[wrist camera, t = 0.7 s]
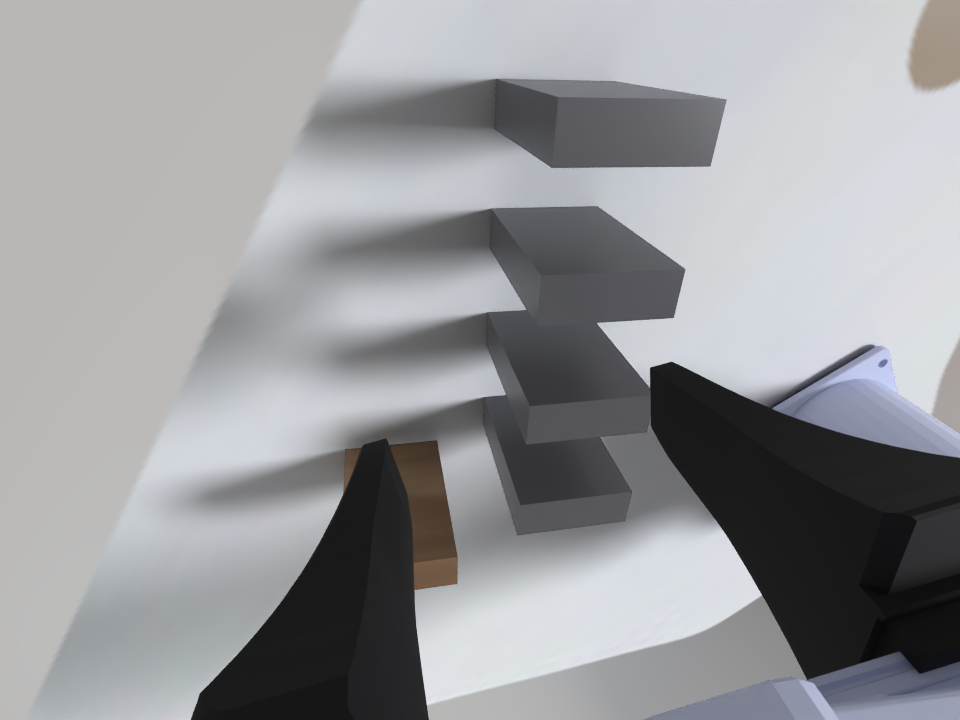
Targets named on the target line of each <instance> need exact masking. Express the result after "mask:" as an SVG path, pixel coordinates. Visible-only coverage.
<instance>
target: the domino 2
mask: <svg viewBox="0 0 960 720" xmlns="http://www.w3.org/2000/svg"><path fill="white" fill-rule="evenodd" d="M725 104H726V99H720V98H714V97H708V96H701V95H695V94H689V93H683V92H677V91H671V90H665V89H659V88H653V87H646V86H640V85H634V84H628V83H622V82H616V81H574V80H526V79H496V102H495V127H494V129H496V130H497V131H499V132H500V133H502V134H503V135H504V136H506V137H507V138H509V139H510V140H512V141H513V142H515V143H516V144H518V145H519V146H521V147H522V148H524V149H525V150H526V151H528V152H529V153H531V154H532V155H534V156H535V157H537V158H538V159H540V160H541V161H543V162H544V163H546V164H547V165H548V166H550V167H551V168H588V167H701V166H711V162H712V158H713V153H714V149H715V145H716V141H717V137H718V133H719V129H720V125H721V120H722V116H723V112H724V108H725Z"/></svg>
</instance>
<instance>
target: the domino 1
mask: <svg viewBox="0 0 960 720" xmlns="http://www.w3.org/2000/svg"><path fill="white" fill-rule="evenodd" d="M389 446H390V449H391V452H392V454H393V457H394V460H395V462H396V465H397V467H398V470H399V473H400V475H401V478H402V481H403V483H404V486H405V489H406V491H407V495H408V501H409V508H410V514H411V521H412V529H413V559H414V590H417V589H424V588H431V587H438V586H445V585H452V584H457V552H456V546H455V540H454V535H453V529H452V523H451V518H450V512H449V507H448V501H447V495H446V490H445V484H444V478H443V473H442V467H441V462H440V456H439V450H438V445H437V441H428V442H418V443H407V444H397V445H389ZM360 450H361V448H356V449H346V453H345V473H344V492H345V489H346V487H347V485H348V482H349V480H350V477H351V475H352V472H353V469H354V467H355V464H356V461H357V459H358V456H359V453H360ZM343 494H344V493H343Z"/></svg>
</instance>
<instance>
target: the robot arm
mask: <svg viewBox="0 0 960 720" xmlns="http://www.w3.org/2000/svg"><path fill="white" fill-rule="evenodd" d="M650 395H651V427H652V429H653V431H654V433H655V434H656V436H657V438H658V440H659V442H660V444H661V445H662V447H663V449H664V450H665V452H666V454H667V456H668V457H669V459H670V460H671V461H672V463H673V464H674V465H675V467H676V468H677V469H678V471H679V472H680V473H681V475H682V476H683V477H684V479H685V480H686V481H687V483H688V484H689V485H690V487H691V488H692V489H693V491H694V492H695V493H696V495H697V496H698V497H699V498H700V500H701V501H702V502H703V504H704V505H705V506H706V508H707V509H708V510H709V512H710V513H711V514H712V516H713V517H714V518H715V519H716V521H717V522H718V524H719V525H720V526H721V528H722V529H723V531H724V532H725V534H726V535H727V537H728V538H729V540H730V542H731V543H732V545H733V546H734V548H735V550H736V551H737V553H738V555H739V556H740V558H741V560H742V561H743V563H744V565H745V566H746V568H747V570H748V571H749V573H750V575H751V576H752V578H753V580H754V582H755V583H756V585H757V587H758V589H759V590H760V592H761V594H762V596H763V597H764V599H765V600H766V602H767V604H768V606H769V608H770V610H771V612H772V613H773V615H774V617H775V619H776V621H777V623H778V624H779V626H780V628H781V630H782V632H783V634H784V636H785V637H786V639H787V641H788V643H789V645H790V647H791V649H792V651H793V653H794V655H795V657H796V658H797V661H798V662H799V665H800V666H801V668H802V670H803V672H804V674H805V676H806V678H807V680H801V679H798V678H794V677H785V678H780V679H774V680H768V681H765V682H761V683H758V684H755V685H752V686H749V687H745V688H742V689H739V690H736V691H732V692H729V693H726V694H723V695H719V696H716V697H713V698H710V699H706V700H703V701H700V702H697V703H693V704H690V705H687V706H684V707H680V708H677V709H674V710H671V711H667V712H664V713H661V714H658V715H654V716H651V717H649V718H647V719H645V720H960V434H959V433H957V432H956V431H954V430H953V429H951V428H949V427H948V426H946V425H945V424H943V423H942V422H940V421H939V420H937V419H936V418H934V417H933V416H931V415H930V414H928V413H927V412H925V411H924V410H922V409H921V408H919V407H918V406H916V405H915V404H913V403H912V402H910V401H909V400H907V399H906V398H904V397H902V396H901V395H899V394H898V390H897V385H896V380H895V375H894V370H893V365H892V360H891V356H890V351H889V350H888V349H887V348H885V347H883V346H877V347H875V348H873V349H871V350H870V351H868V352H866V353H864V354H863V355H861V356H859V357H858V358H856V359H854V360H853V361H851V362H849V363H848V364H846V365H844V366H843V367H841V368H839V369H837V370H836V371H834V372H832V373H831V374H829V375H827V376H826V377H824V378H822V379H821V380H819V381H817V382H815V383H814V384H812V385H810V386H809V387H807V388H805V389H804V390H802V391H800V392H799V393H797V394H795V395H793V396H792V397H790V398H788V399H787V400H785V401H783V402H782V403H780V404H778V405H777V406H775V407H773V408H772V409H771V408H769V407H766V406H764V405H761V404H759V403H757V402H755V401H752V400H750V399H748V398H746V397H743V396H741V395H739V394H737V393H735V392H733V391H731V390H728V389H726V388H724V387H722V386H720V385H718V384H716V383H714V382H712V381H710V380H708V379H706V378H704V377H702V376H700V375H698V374H696V373H694V372H692V371H690V370H688V369H686V368H684V367H682V366H680V365H678V364H675V363H673V362H669V363H666V364H662V365H658V366H655V367H651V368H650ZM191 720H429V718H428V711H427V705H426V697H425V690H424V683H423V676H422V668H421V661H420V653H419V645H418V637H417V629H416V617H415V596H414V559H413V529H412V521H411V514H410V508H409V501H408V495H407V491H406V489H405V486H404V483H403V481H402V478H401V475H400V473H399V470H398V467H397V465H396V462H395V460H394V457H393V454H392V452H391V449H390V446H389V444H388V441H387V439H383V440H379V441H376V442H372V443H368V444H364V445H363V447H362V448H361V450H360V453H359V456H358V459H357V461H356V464H355V467H354V469H353V472H352V475H351V477H350V480H349V482H348V485H347V487H346V489H345V492H344V494H343V496H342V498H341V501H340V503H339V505H338V507H337V510H336V512H335V514H334V516H333V518H332V520H331V522H330V524H329V526H328V528H327V529H326V531H325V533H324V535H323V537H322V539H321V541H320V543H319V545H318V546H317V548H316V550H315V552H314V553H313V555H312V557H311V558H310V560H309V562H308V563H307V565H306V566H305V568H304V570H303V571H302V573H301V574H300V576H299V577H298V579H297V580H296V582H295V583H294V584H293V586H292V587H291V589H290V590H289V592H288V593H287V595H286V596H285V597H284V599H283V600H282V602H281V603H280V604H279V606H278V607H277V608H276V610H275V611H274V612H273V614H272V615H271V616H270V617H269V618H268V620H267V621H266V622H265V623H264V625H263V626H262V627H261V628H260V629H259V631H258V632H257V633H256V634H255V635H254V637H253V638H252V639H251V640H250V641H249V642H248V644H247V645H246V646H245V647H244V648H243V649H242V650H241V651H240V652H239V654H238V655H237V656H236V657H235V658H234V659H233V660H232V661H231V662H230V663H229V664H228V665H227V666H226V667H225V668H224V669H223V670H222V671H221V672H220V673H219V675H218V676H217V677H216V678H215V679H214V680H213V681H212V682H211V683H210V684H209V685H208V686H207V687H206V688H205V689H204V690H203V691H202V692H201V693H200V695H199V698H198V701H197V704H196V707H195V710H194V712H193V715H192V718H191Z"/></svg>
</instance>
